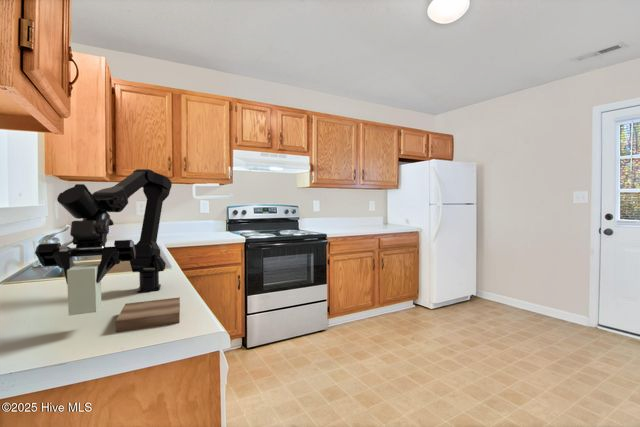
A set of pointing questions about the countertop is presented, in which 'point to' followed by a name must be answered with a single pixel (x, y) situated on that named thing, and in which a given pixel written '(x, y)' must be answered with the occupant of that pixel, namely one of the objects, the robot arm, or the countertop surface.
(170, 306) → the walnut stand
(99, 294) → the sage block
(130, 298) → the countertop surface
